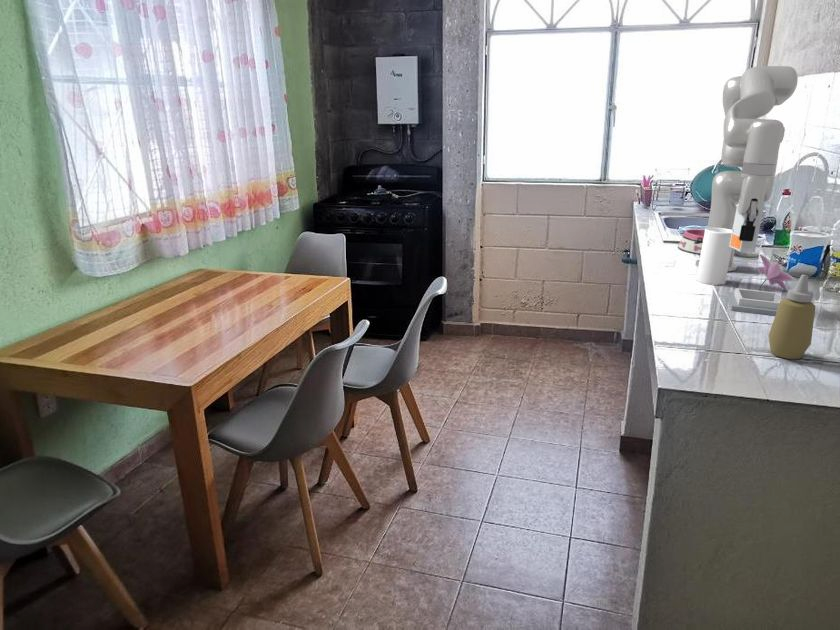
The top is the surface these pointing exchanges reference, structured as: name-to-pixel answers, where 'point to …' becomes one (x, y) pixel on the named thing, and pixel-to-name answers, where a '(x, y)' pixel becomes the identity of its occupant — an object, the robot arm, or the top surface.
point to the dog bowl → (692, 241)
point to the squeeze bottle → (793, 322)
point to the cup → (714, 256)
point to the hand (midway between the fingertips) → (744, 237)
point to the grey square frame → (754, 301)
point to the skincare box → (738, 222)
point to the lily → (774, 273)
